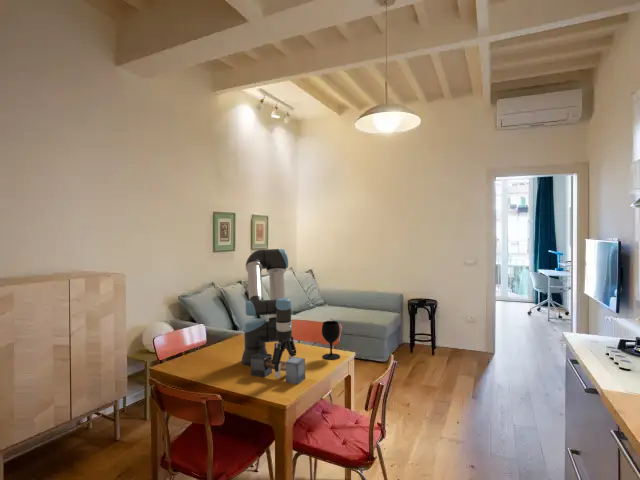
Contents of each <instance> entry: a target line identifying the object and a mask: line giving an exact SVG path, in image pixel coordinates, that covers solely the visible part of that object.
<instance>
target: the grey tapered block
mask: <svg viewBox="0 0 640 480" xmlns="http://www.w3.org/2000/svg"><path fill="white" fill-rule="evenodd" d="M272 358H273V355H272V354H271V353H268V354H266V353H257V354H255V355H253V356H251V366H250V376H253V377H258V378H263V379H264V378H265V379H266V377H268V376H270V375H272V373H273V369H269V368H266V366H265V364H266V361H267V360H268V359H271V360H272Z"/></svg>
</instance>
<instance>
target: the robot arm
mask: <svg viewBox="0 0 640 480" xmlns="http://www.w3.org/2000/svg"><path fill="white" fill-rule="evenodd" d="M288 268H289V257H288V254H287V251H286V249H284V248H272V249H271V248H270V249H269V248H268V249H264V248H263V249H257V250H255V251H254V252H251V254H250V255H249V256H248V257H247V259H246V263H245V270H246V272H247V286H248V300H247V301H245V314H246V316H249V317H250V316H251V317H255V316H266V315H267V316H268V315H269V317H268V321H266V319H265V318H255V319H251V320H248V321H246V322H245V323H244V325H243V326H244V328H243V329H244V330H243V332H244V349H243V353H242V355H241V364H243V366H248V367H251V356H253V355H255V354H257V353H266V354H269V353H268V351H267V348H266V347H267V346H266V343H274V348H273V355H272V364H274V365H275V369H274V378H277V379H280V378H281V370H280V364H279V363H280V361H282V360H281V359H282V356H283V353H284V352H285V350H287V353H288V360H289V359H291V358H293V357H295V356H296V357H297V349H296V345H295V342H294V336H292V335H293V334H292V332H293V329H292V328H293V322H292V301H291V298H287V297H286V293H285V292H286V291H285V273H286V271H287V269H288ZM263 270H266V273H267V274H268V277H269V294H270V295H269V299H264V291H263V281H262V279H263V277H262V271H263Z"/></svg>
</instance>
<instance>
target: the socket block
mask: <svg viewBox="0 0 640 480" xmlns="http://www.w3.org/2000/svg"><path fill="white" fill-rule="evenodd" d="M285 362H286V371H285V382H286V383H290V384H294V385H299V384H301V383H302V382H303V381H304V380H306V358H303V357H297V356H296V357H295V356H294V357H293V358H291V359H289V358H288V360H286V361H285Z"/></svg>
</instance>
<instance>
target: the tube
mask: <svg viewBox="0 0 640 480" xmlns="http://www.w3.org/2000/svg"><path fill="white" fill-rule="evenodd" d="M279 364H280V372H286V361H282V360H280V363H279ZM265 366H266V368H269V369H272V370H275V365H274V364H272V360H271V359H268V360H267V361H266V364H265Z"/></svg>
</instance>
